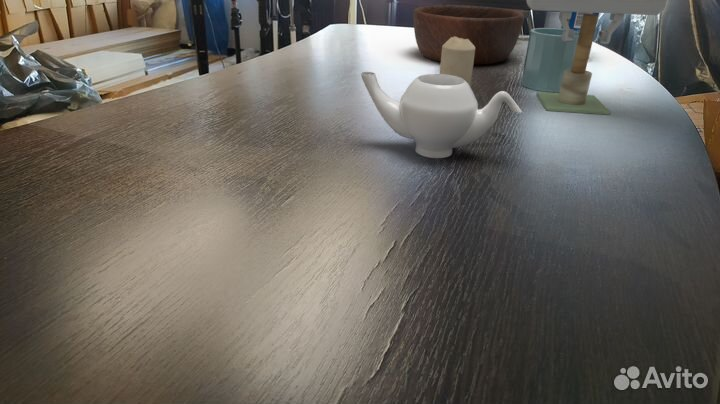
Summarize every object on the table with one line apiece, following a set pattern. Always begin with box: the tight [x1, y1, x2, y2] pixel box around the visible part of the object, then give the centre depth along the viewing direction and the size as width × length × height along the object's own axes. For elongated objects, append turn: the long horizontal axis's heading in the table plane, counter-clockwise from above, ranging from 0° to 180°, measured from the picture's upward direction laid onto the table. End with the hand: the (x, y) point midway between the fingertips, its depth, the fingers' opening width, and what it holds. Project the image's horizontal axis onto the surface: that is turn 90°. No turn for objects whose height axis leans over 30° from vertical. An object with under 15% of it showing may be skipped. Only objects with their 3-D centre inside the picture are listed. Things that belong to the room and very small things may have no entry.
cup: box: [521, 27, 579, 93], centre depth 94 cm, size 9×9×10 cm
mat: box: [535, 91, 611, 116], centre depth 85 cm, size 10×10×1 cm
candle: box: [439, 36, 475, 88], centre depth 86 cm, size 6×6×10 cm
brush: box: [558, 14, 599, 105], centre depth 82 cm, size 4×4×14 cm
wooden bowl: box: [412, 4, 525, 66], centre depth 117 cm, size 25×25×10 cm
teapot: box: [360, 71, 523, 159], centre depth 62 cm, size 10×20×9 cm, turn 74°
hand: (584, 42), depth 81 cm, fingers open, 4 cm apart
